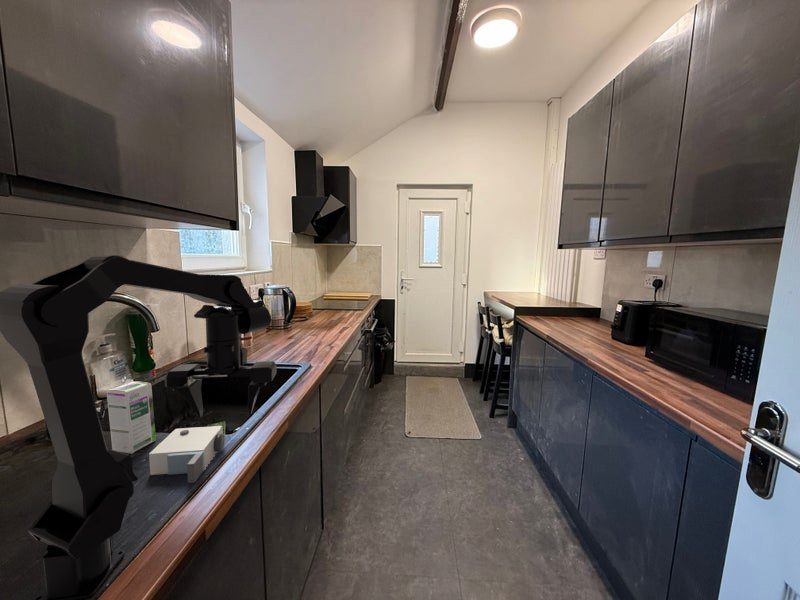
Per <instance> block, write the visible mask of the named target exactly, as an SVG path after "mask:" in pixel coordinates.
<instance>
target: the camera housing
mask: <svg viewBox="0 0 800 600" xmlns="http://www.w3.org/2000/svg"><path fill="white" fill-rule="evenodd" d="M223 429H224V428H223V425H217V426H214V425H213V426H199V427H197V426H196V427H184V428H183V427H182V428H175V429H174V430H172V432H170V434H168V435H167V436H166V437H165V438H164V439H163V440H162V441H160V442H159V444H158V445H157V446H156V447H155V448H154V449H152V450H151V451H150V452H149V453H148V457H149V472H150V474H149V475H150V476H154V475H155V476H156V475H165V474H166V475H168V462H167V455H168V454H174V453H188V452H201V451H204V467H205V470H207V468H208V467H209V465H210V463H211V462H212V461H213V459H214V458H215V456H216V455H217V454H218V453H220V452H222V451H223V449H224V445H225V442H226V441H225V440H226V439H225V435H224V430H223ZM216 453H217V454H216ZM215 454H216V455H215ZM213 457H214V458H213ZM211 460H212V461H211ZM210 461H211V462H210ZM208 464H209V465H208ZM206 467H207V468H206Z"/></svg>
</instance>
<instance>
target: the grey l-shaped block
mask: <svg viewBox="0 0 800 600" xmlns="http://www.w3.org/2000/svg"><path fill="white" fill-rule="evenodd" d="M167 462H168V474H167V475H168V476H170V475H181V474H182V475H183V474H187V483H188V484H190V483H193V484H194V483H196V481H197V480H198V479H199V477H200V476H201V475H202V473H203V472H204V470H205V471H206V469H205V467H204V451H201V452H188V453H174V454H168V455H167Z"/></svg>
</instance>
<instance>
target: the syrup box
mask: <svg viewBox="0 0 800 600" xmlns="http://www.w3.org/2000/svg"><path fill="white" fill-rule="evenodd" d="M152 386H153V385H152V383H150V382H146V381H130V382H127V383H126V384H122V385H119V386H117V387H114V388H110V389H108V390H106V400H107V409H108V410H107V411H108V419H109V430H110V437H111V439H110V441H111V448H112V449H111V450H114V451H117V452H120V453H124V454H131V455H132V454H134V453H135V452H137V451H139V450H140V449H143V448H144V447H146V446H148V445H150V444H152V443H153V442H155V441H157V437H156V426H155V425H156V423H155V415H154V413H155V412H154V401H153V390H152V389H153V388H152Z"/></svg>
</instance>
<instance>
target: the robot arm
mask: <svg viewBox="0 0 800 600" xmlns="http://www.w3.org/2000/svg"><path fill="white" fill-rule="evenodd" d="M122 286H125V287H132V288H140V289H146V290H154V291H161V292H169V293H175V294H181V295H185V296H186V297H187V296H188V297H189V298H191V299H193V300H197V301H200V302H203V303H204V304H203V305H202V307H201V308H200V309H198V311H196V312H195V313H194V315H193V317H194V318H196V319H203V320H205V334H206V335H205V337H206V346H204V349H203V352H204V353H206V367H205V368H201V366H200V364H199V363H188V364H187V363H185V364H184V363H183V364H178V365H177V366H175V367H174V368H172V369H169V371H167V373H166V374H165V376H164V387H165V388H173V389H172V390H173V392H179V394H180V395H181V396H182V397H183V398H184V400H185V401H186V402H187V403H188V404H189V405H190V407H191V409H192V410H193V412H194V413H195V415H196V416H197V418H202V417H203V414H204V409H203V408H204V406H203V397H202V384H203V383H202V382H203V380H206V379H210V380H211V379H231V378H249V380H250V381H251V382H249V384H248V388H247V389H248V391H247V411H248V415H251V414H252V413H253V410H254V407H255V404H256V400H257V398H258V395H259V392H260V389H261V388H263V387H266V385H267V383H271V382H273V380H274V378H275V376H276V375H277V364H276V363H275V361H273V360H271V361H267V360H266V361H256V362H255V363H254V364H253V365H252V366H244V367H241V366H243V365H245V364H247V363H248V350H249V349H248V348H247V347H243V346H242V340H241V338H240V336H241V335H245V334H249V333H254V332H258V331H263V330H265V329H268V328H269V326H270V325H271V322H272V315H271V313H270V311H269V309H268V308H267V307H266V306H265V305H264V300H261V299H254V300H253V298H252V297H251V296H250V294H249V292H248V291H247V289H246V288H245V286H244V284H243V281H242V279H241V277H239V276H238V275H234V274H203V273H201V274H200V273H194V272H190V271H185V270H180V269H176V268H172V267H171V268H170V267H166V266H161V265H156V264H152V263H148V262H142V261H137V260H133V259H129V258H127V257H124V256H122V255H116V254H115V255H113V254H111V255H110V254H109V255H107V254H106V255H105V254H101V255H100V254H97V255H93V256H90V257H89V258H87V259H85V260H83V261H81V262H80V263H78V264H76V265H73V266H71V267H68V268H65V269H62V270H60V271H57V272H55V273H52V274H49V275H47V276H45V277H42V278H40V279H38V280H36V281H34V282H32V283H30V284H27V283H26V284H17V285H16V284H15V285H12V286H8V287H6V288H5V289H3V290H1V291H0V333H1V335H2V337H3V338H4V339H5V340H6V342H7V343H8V344H9V345H10V346H11V347H12V348H13V349H14V350H15V351H16V353H18V354H19V356H21V358H22V359H23V360H24V361H25V363H26V364H27V366H28V370H29V372H30V376H31V380H32V383H33V386H34V388H35V389H34V390H35V393H36V396H37V399H38V401H39V405H40V408H41V412H42V415H43V418H44V421H45V423H46V428H47V431H48V434H49V437H50V440H51V444H52V446H53V449H54V453H55V456H56V460H57V467H56V469H55V472H54V474H53V478H52V480H51V496H52V497H51V500H50V502H49V503H48V505H47V506H46V507H45V508H44V510H43V511H42V512H40V513H41V514H39V516H38V517H37V518H36V520H35V521H34V522H33V523H32V525H31V526H30V527H29V528H28V533H29V534H30V535H31V536H32V537H33V538H34V539H35V540H36V541H38V542H42V543H45V544H47V547H46V553H45V555H43V557H42V561H43V570H44V578H45V586H44V588H43V589H42V590H41V591H40V592H39V593H38V594H37V595H36V596H35V597H34V598H33V600H74V599H75V600H76V599H78V600H83V599H82V598H85V599H87V598H86V597H89V598H91V597H93V596H94V595H95V593H96V592H97V591H98V589H100V587H101V586H102V584H103V583H104V582H105V581H106V579H107V578H108V577H109V575H110V574H111V573H112V572H113V570H114V569H115V568H116V566H117V565H118V564H117V563H118V562H119V563H120V561H121V560H122V559H123V558H124V556H125V555H126V552H125V551H126V550H124V549H121V550H120V549H119V550H118V549H117V550H113V549H114V540H113V539H114V538H113V536H114V535H115V534H117V533H119V531H120V530H121V527H122V523H123V520H124V517H125V514H126V510H127V506H128V504H129V501H130V499H131V498H132V497H133V496H134V492H135V485H134V482H137V481H138V480H139V478H138V477H137V476H136V475H135V473H134V471H133V459H132V457H131V455H130V454H128V453H124V452H118V451H114V450H112V449H111V448H110V449H109V448H108V446H107V443H106V440H105V435H104V431H103V428H102V424H101V421H100V420H101V419H100V417H99V412H98V409H97V406H96V402H95V399H94V394H93V391H92V387H91V383H90V379H89V377H88V372H87V368H86V364H85V361H84V358H83V350H84V347H85V345H86V344H85V343H86V341H87V338H88V336H89V334H90V333H89V332H90V324H89V323H90V322H89V321H90V320H89V319H90V318H89V317H90V316H89V313H91V312H92V311H94V310H95V309H97V308H99V307H100V306H102V305H103V304H105V303H106V302H107V301H108V300H109V299H110V298H111V297H112V295H113V294H114V293H115V292H116V291H117V290H118V288H120V287H122ZM205 303H206V304H205ZM211 304H213V305H211ZM214 305H215V306H217V307H215V306H214ZM240 334H241V335H240ZM121 558H122V559H121ZM116 564H117V565H116ZM115 565H116V566H115ZM114 567H115V568H114ZM113 568H114V569H113ZM111 571H112V572H111ZM110 572H111V573H110ZM90 596H91V597H90Z"/></svg>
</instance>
